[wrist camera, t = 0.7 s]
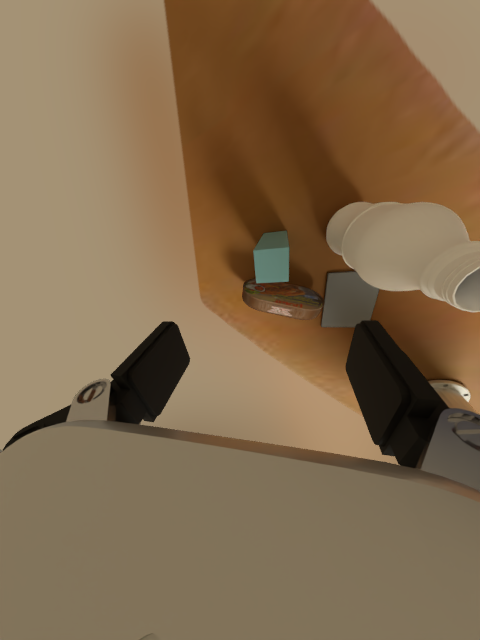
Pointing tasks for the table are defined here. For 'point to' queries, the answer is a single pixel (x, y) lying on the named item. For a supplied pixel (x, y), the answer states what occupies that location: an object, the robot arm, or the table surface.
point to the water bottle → (409, 249)
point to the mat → (347, 300)
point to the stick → (272, 258)
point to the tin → (282, 299)
